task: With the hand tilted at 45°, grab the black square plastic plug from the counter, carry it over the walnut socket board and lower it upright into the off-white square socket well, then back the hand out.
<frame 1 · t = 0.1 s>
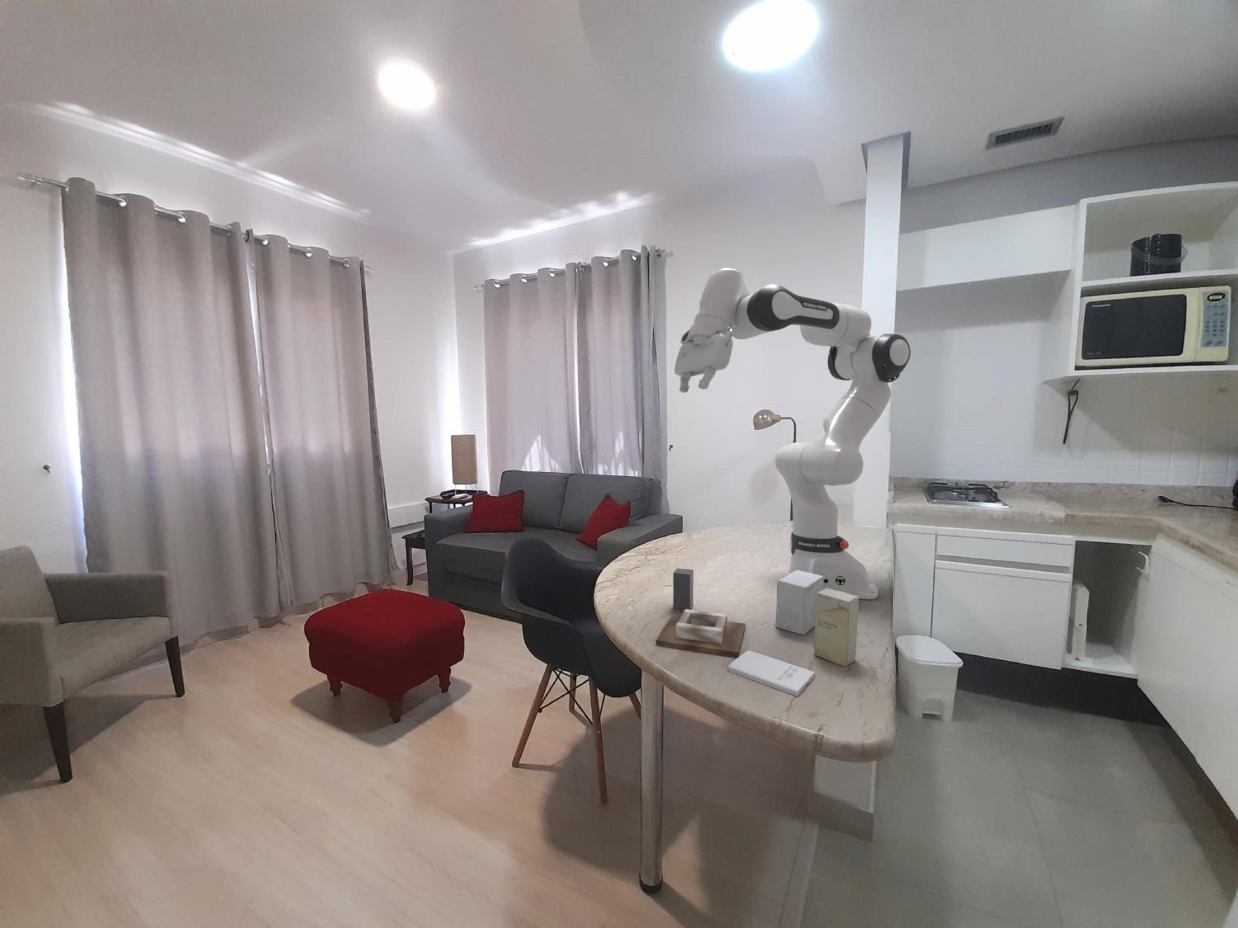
hand: (692, 390, 112), 52 cm above the table, tool tilted 20°, fingers open, 8 cm apart
external hard drive: (771, 677, 83), on the table
plug: (683, 608, 113), on the table
skincare box 2: (799, 625, 103), on the table
socket board: (702, 636, 98), on the table
skincare box: (835, 658, 88), on the table
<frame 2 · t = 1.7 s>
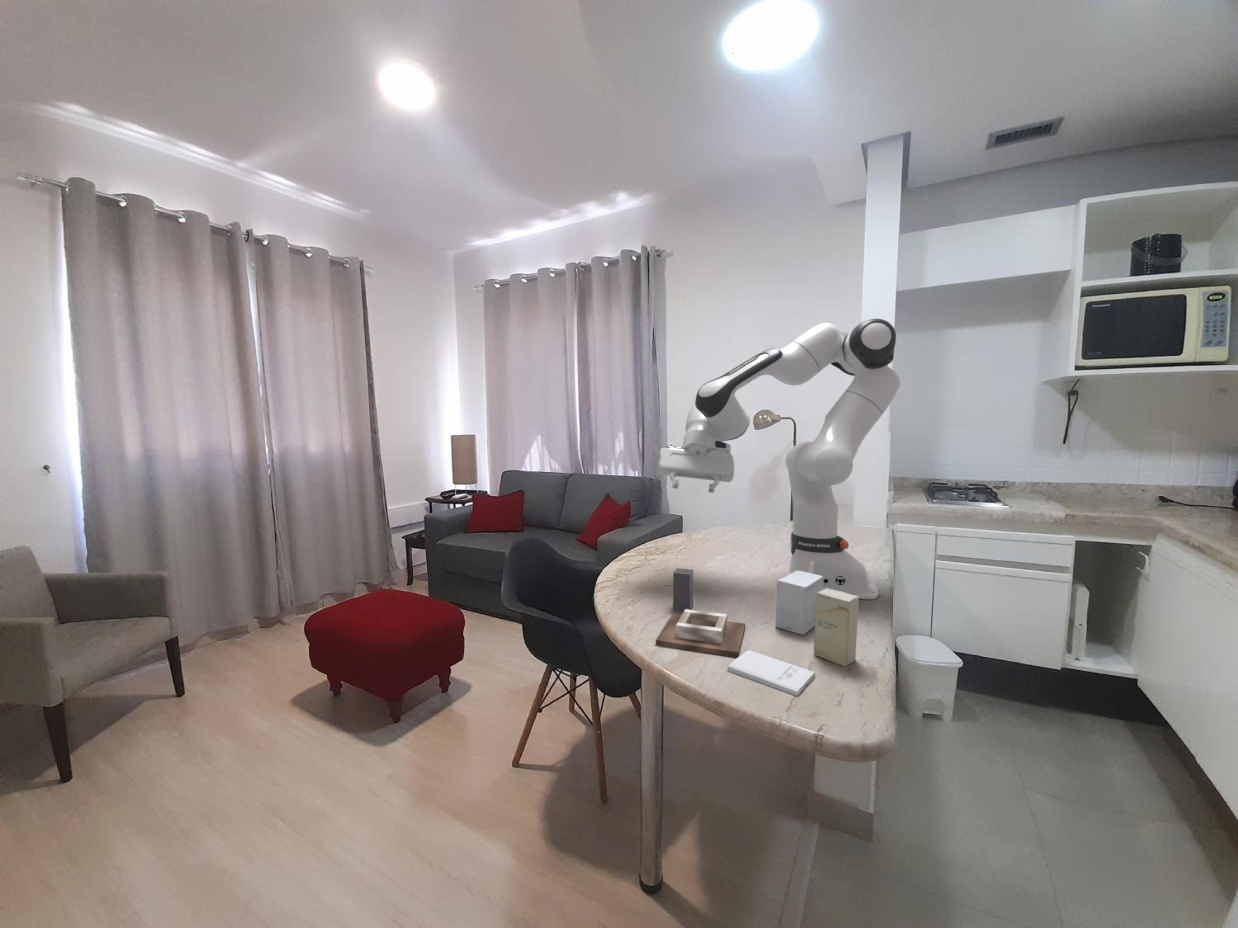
hand: (693, 489, 124), 27 cm above the table, tool tilted 45°, fingers open, 8 cm apart
nothing on the table moved.
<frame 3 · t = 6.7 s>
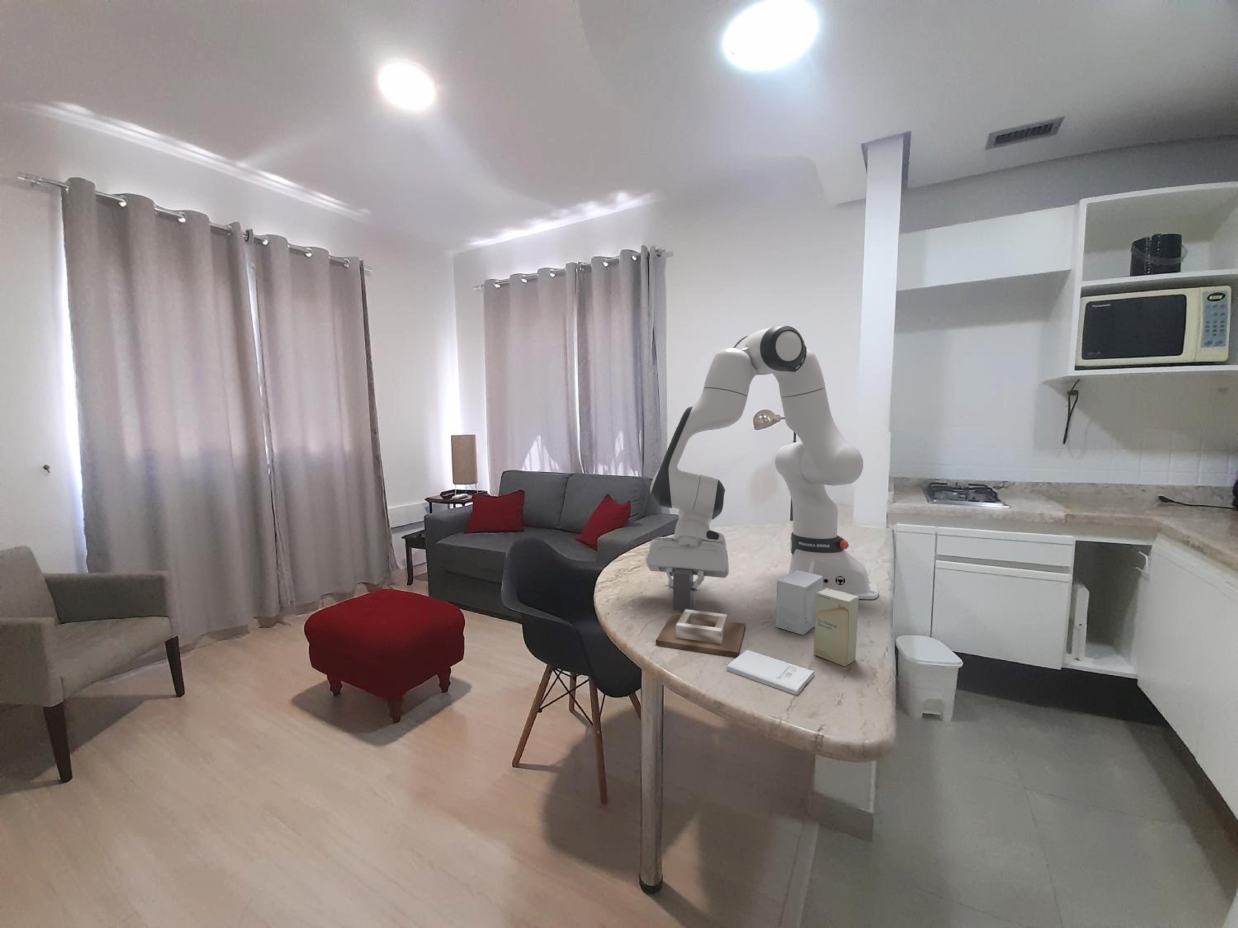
hand: (682, 588, 112), 5 cm above the table, tool tilted 45°, fingers closed on plug, 4 cm apart
plug: (683, 607, 113), on the table, touching gripper
everything else where it was.
when the fingers open (7 cm above the table, at t = 13.7 s): plug stays where it is, resting on socket board.
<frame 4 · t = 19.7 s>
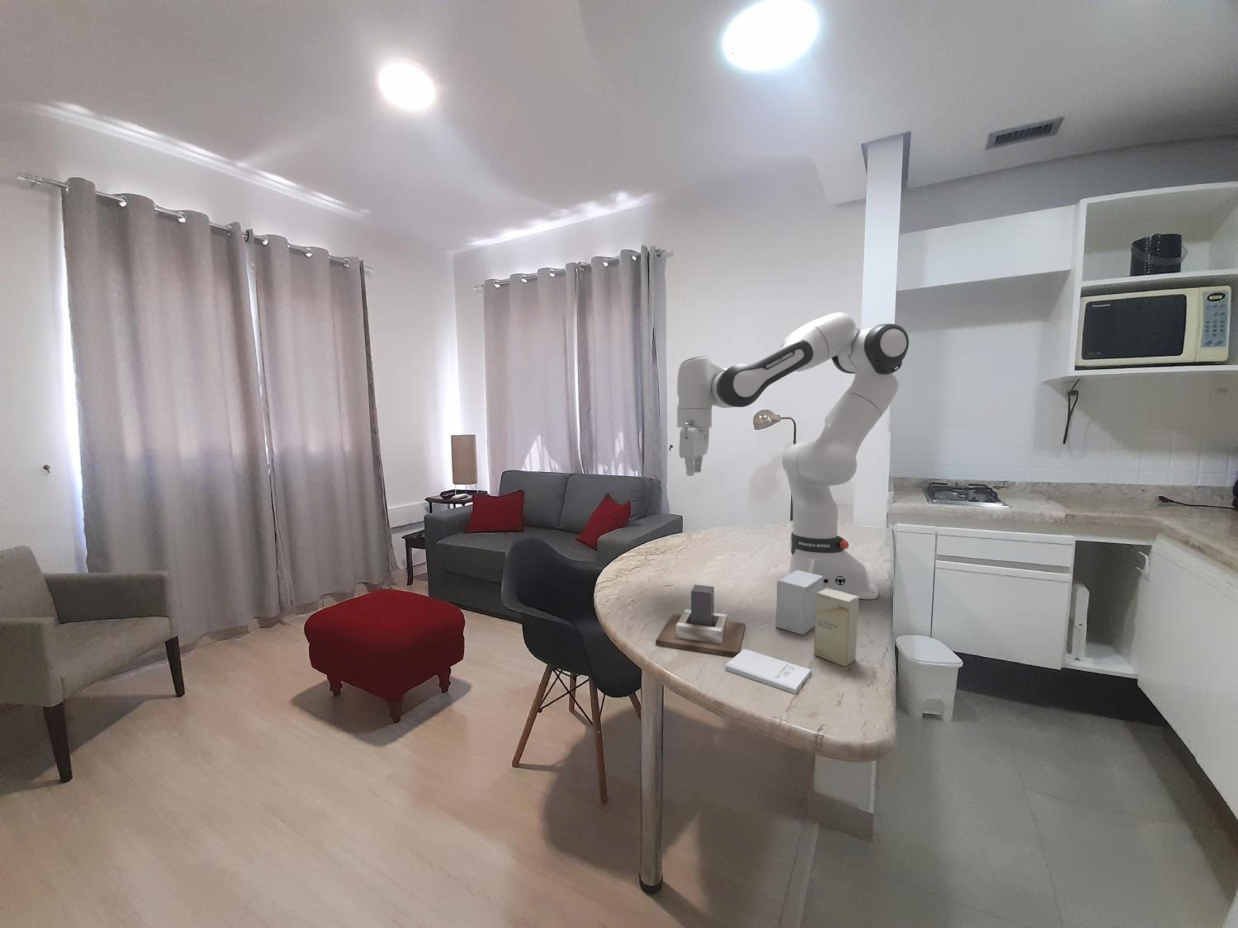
hand: (694, 473, 123), 31 cm above the table, tool pointing down, fingers open, 8 cm apart
plug: (702, 631, 98), point 1 cm above the table, touching socket board
everything else where it was.
at the end: plug 0.1 cm off-centre on the socket board, point 1.0 cm above the socket board's base; plug tilted 0°; the gripper is holding nothing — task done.
